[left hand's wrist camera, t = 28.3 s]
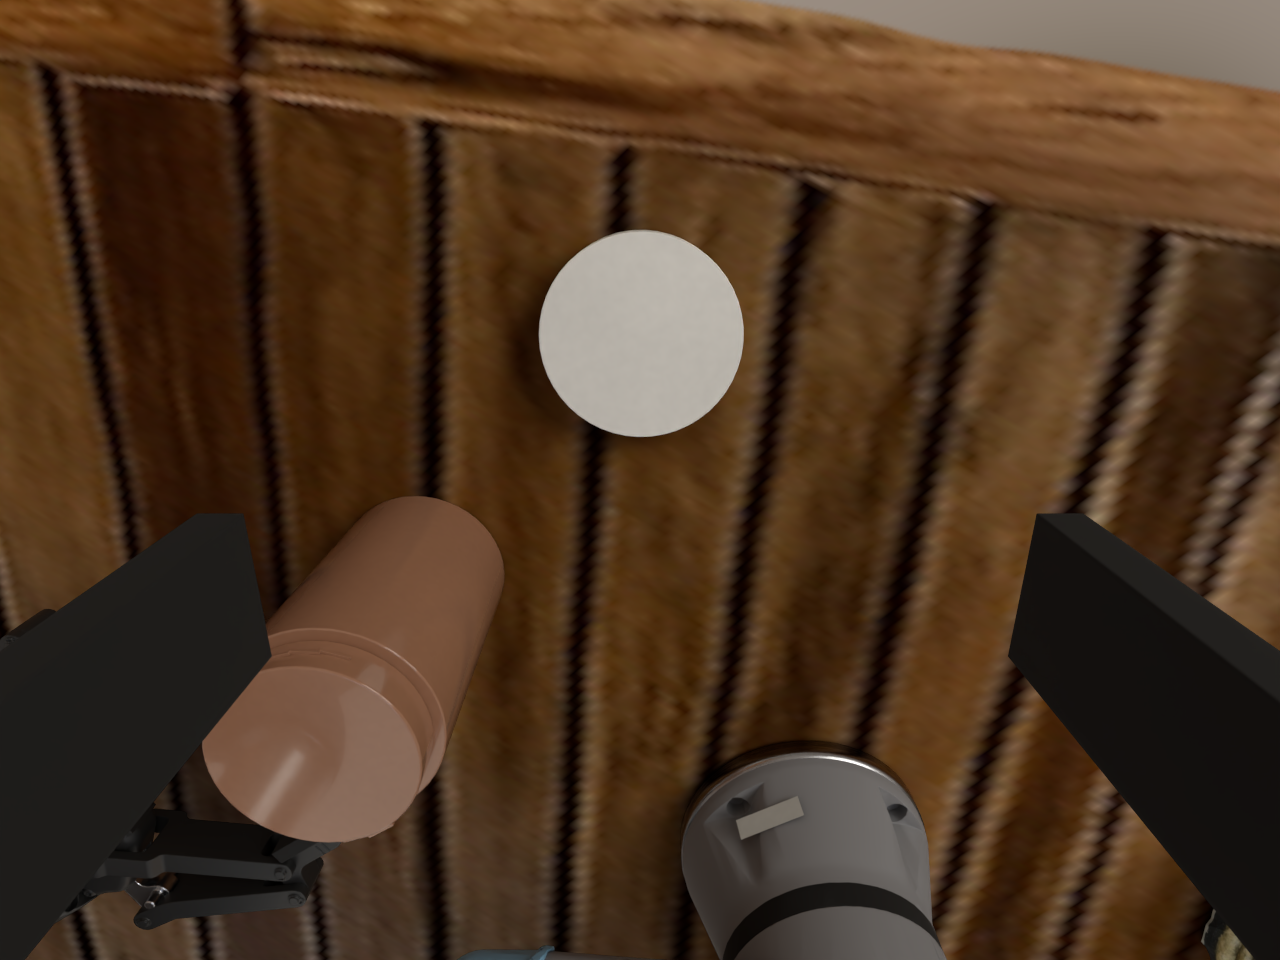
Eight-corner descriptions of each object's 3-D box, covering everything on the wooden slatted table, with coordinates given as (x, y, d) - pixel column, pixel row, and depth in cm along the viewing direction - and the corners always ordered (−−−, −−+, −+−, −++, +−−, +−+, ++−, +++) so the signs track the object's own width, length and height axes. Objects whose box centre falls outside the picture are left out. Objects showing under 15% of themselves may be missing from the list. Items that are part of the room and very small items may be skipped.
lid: (778, 336, 37) (785, 342, 35) (637, 462, 39) (637, 475, 37) (645, 184, 34) (645, 183, 33) (503, 328, 37) (496, 335, 35)
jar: (309, 543, 41) (134, 723, 27) (442, 466, 39) (332, 613, 25) (406, 664, 44) (295, 884, 29) (535, 596, 42) (482, 794, 28)
